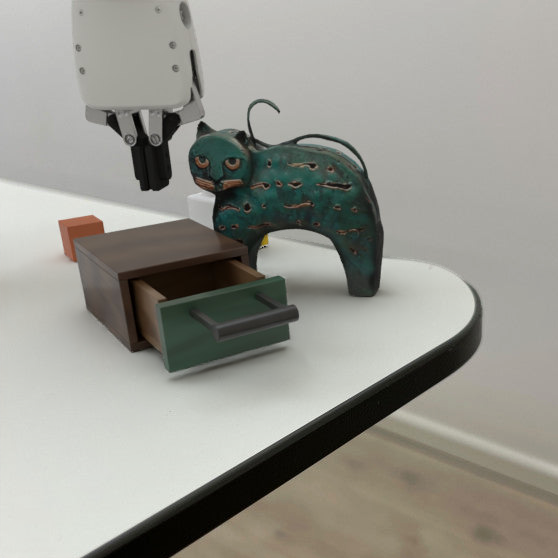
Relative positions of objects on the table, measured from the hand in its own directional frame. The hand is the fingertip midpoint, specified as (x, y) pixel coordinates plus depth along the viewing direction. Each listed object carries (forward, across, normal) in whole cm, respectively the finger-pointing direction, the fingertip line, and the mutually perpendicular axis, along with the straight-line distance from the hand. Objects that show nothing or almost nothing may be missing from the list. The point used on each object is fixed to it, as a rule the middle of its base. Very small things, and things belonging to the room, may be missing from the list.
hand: (155, 187), depth 71 cm
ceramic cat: (+14, -10, -11) cm, 20 cm away
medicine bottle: (+14, +2, -26) cm, 29 cm away
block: (+14, +20, -23) cm, 33 cm away
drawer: (+12, -6, +7) cm, 16 cm away
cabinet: (+13, +2, -2) cm, 14 cm away
